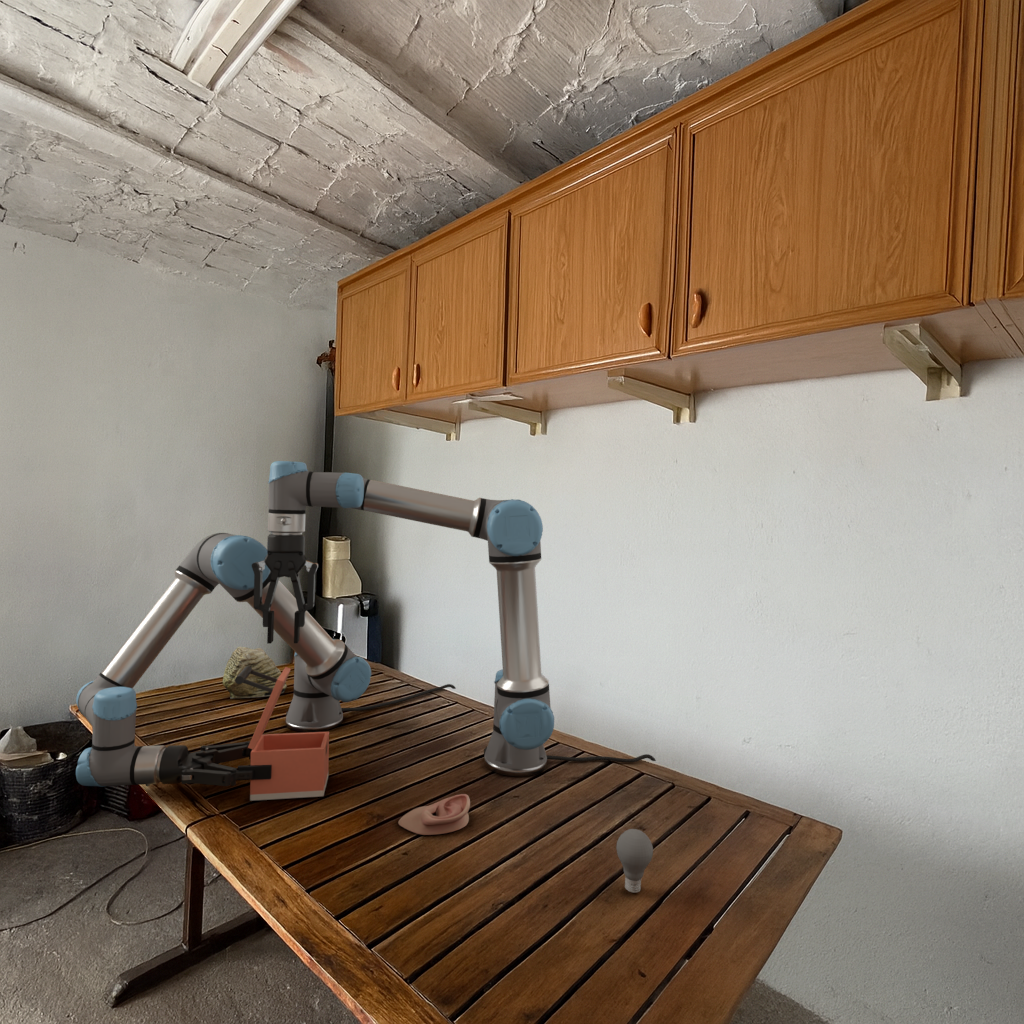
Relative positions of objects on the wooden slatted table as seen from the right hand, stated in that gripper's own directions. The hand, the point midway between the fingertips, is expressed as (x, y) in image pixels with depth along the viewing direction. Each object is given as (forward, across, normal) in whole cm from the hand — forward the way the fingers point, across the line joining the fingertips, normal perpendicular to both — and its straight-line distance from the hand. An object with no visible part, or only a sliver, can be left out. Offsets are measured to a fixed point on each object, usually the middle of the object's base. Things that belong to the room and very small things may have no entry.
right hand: (283, 641), depth 136 cm
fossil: (+32, -19, +66) cm, 76 cm away
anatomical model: (+32, +32, -17) cm, 49 cm away
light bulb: (+33, +64, -43) cm, 83 cm away
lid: (+14, -2, 0) cm, 14 cm away
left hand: (+26, -1, 0) cm, 26 cm away
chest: (+32, +2, 0) cm, 32 cm away
